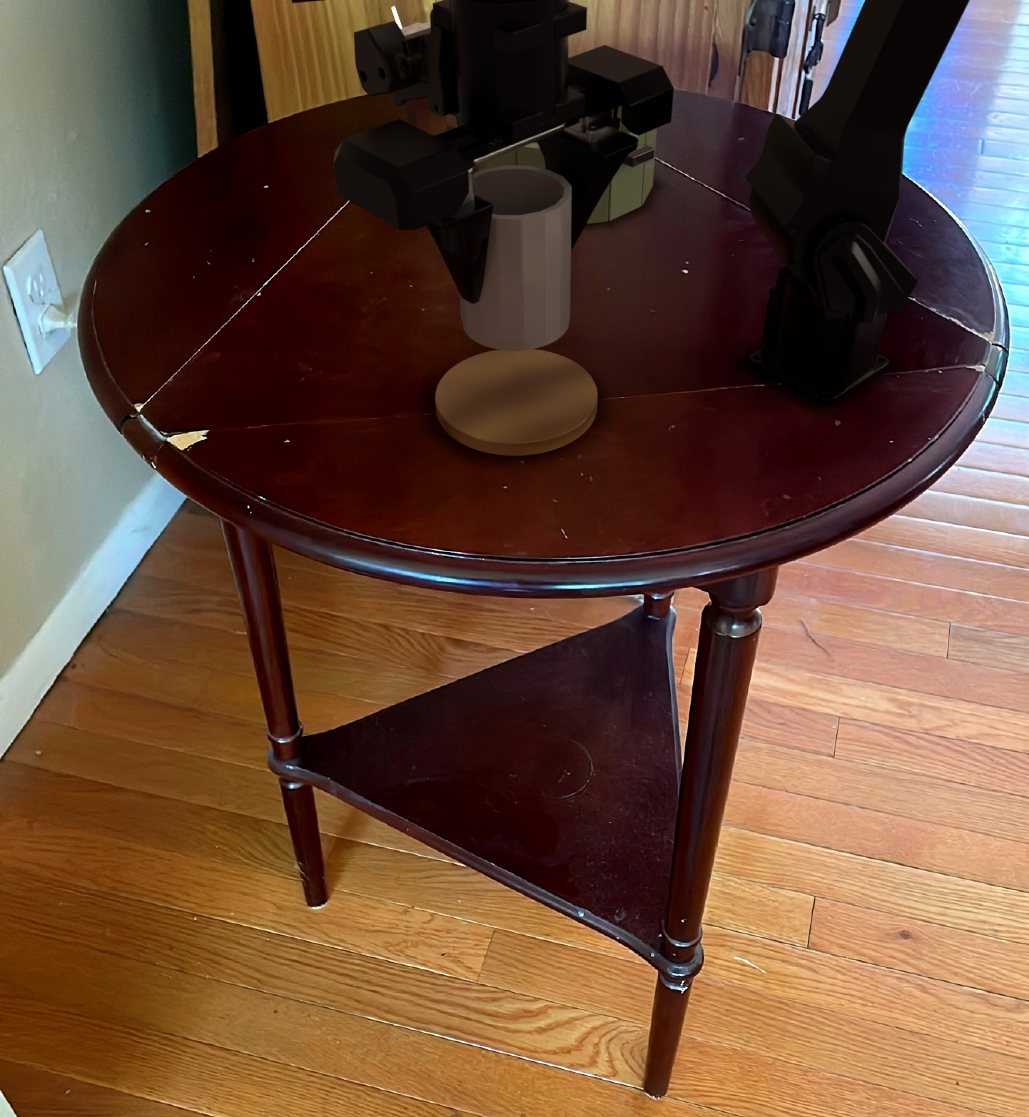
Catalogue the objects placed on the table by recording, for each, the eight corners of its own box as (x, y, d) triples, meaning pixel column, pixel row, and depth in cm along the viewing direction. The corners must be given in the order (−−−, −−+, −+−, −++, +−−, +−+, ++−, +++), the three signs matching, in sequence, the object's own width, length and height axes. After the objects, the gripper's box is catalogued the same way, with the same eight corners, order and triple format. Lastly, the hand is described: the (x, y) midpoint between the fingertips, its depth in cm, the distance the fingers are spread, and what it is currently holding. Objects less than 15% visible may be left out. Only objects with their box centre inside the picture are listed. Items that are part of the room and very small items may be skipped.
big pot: (699, 192, 90) (707, 118, 86) (575, 250, 84) (576, 173, 79) (556, 129, 99) (557, 59, 95) (434, 177, 93) (429, 105, 89)
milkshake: (420, 116, 102) (411, -1, 95) (464, 132, 99) (458, 12, 92) (384, 133, 99) (373, 13, 92) (428, 149, 97) (419, 27, 90)
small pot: (592, 321, 65) (596, 191, 60) (511, 364, 62) (507, 230, 57) (520, 281, 69) (517, 154, 63) (440, 320, 66) (429, 190, 60)
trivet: (630, 408, 69) (631, 395, 69) (509, 479, 65) (508, 465, 64) (522, 342, 75) (522, 330, 74) (403, 403, 70) (402, 390, 69)
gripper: (539, -90, 62) (540, 181, 72) (247, -11, 53) (298, 284, 64) (691, -47, 55) (668, 242, 66) (389, 51, 47) (419, 365, 58)
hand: (515, 278), depth 64 cm, fingers closed on small pot, 6 cm apart
